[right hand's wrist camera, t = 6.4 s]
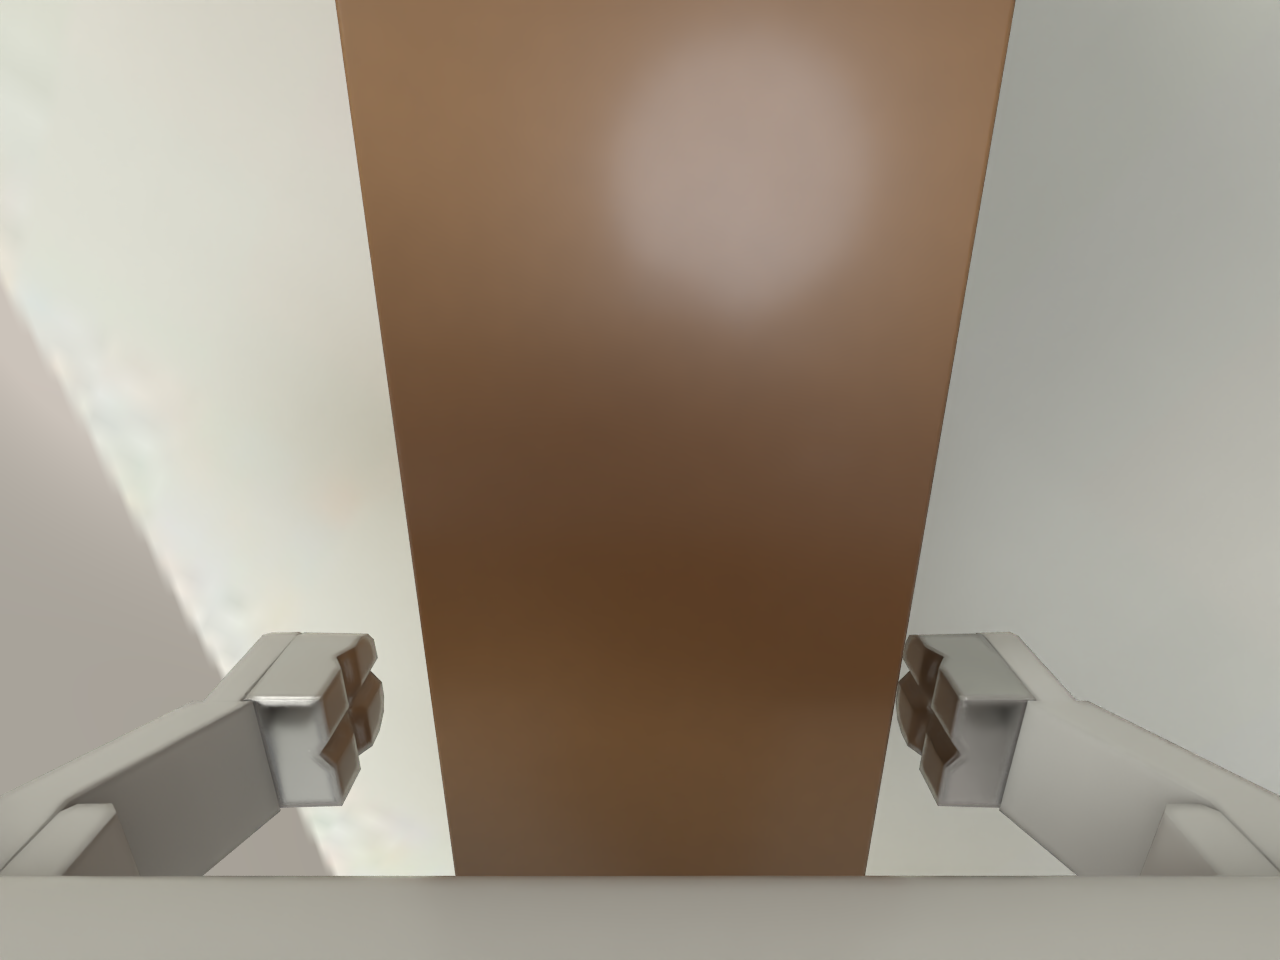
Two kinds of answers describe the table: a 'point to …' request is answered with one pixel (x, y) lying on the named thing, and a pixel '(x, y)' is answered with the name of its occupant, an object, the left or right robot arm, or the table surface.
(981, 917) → the right robot arm
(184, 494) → the table surface
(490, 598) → the box
